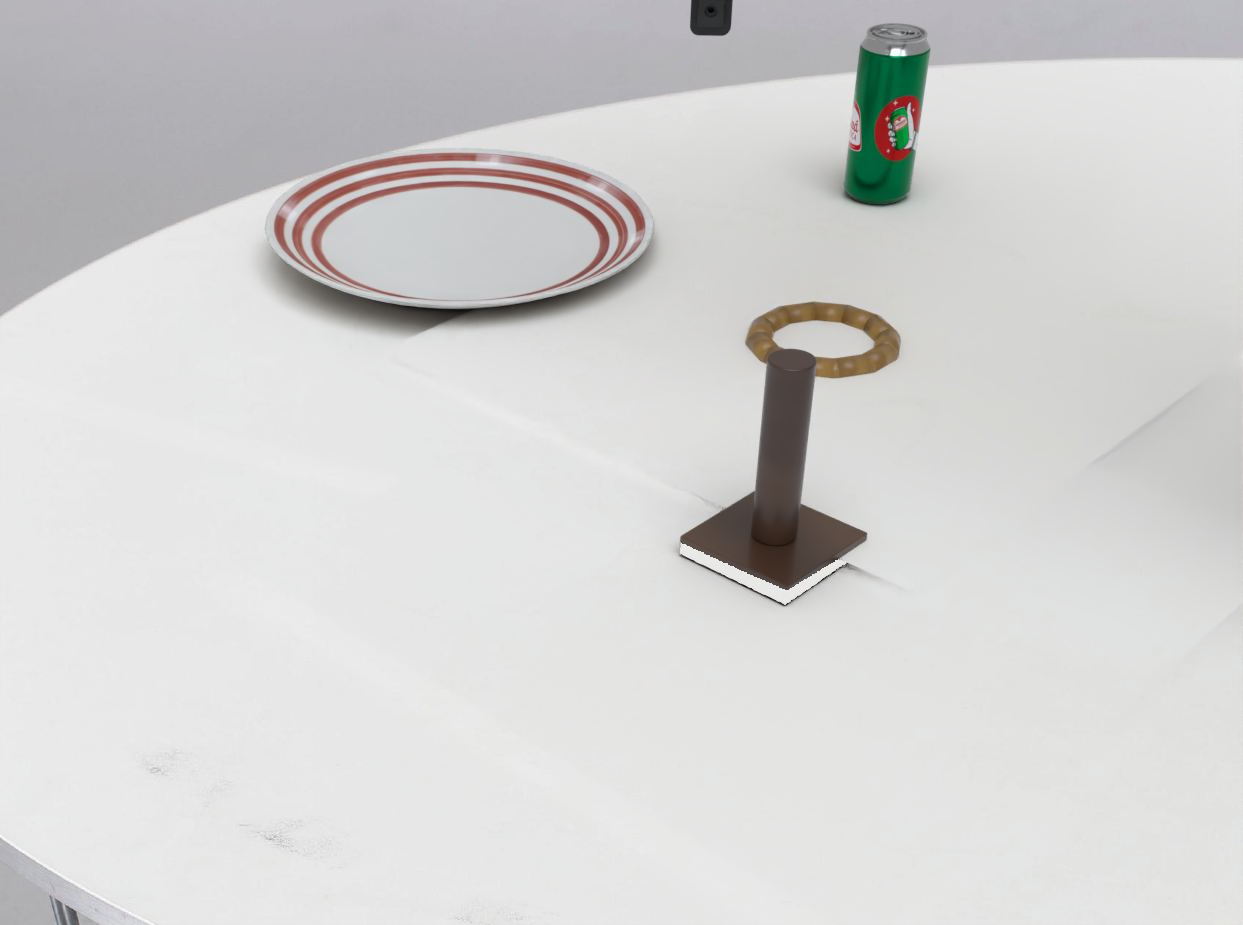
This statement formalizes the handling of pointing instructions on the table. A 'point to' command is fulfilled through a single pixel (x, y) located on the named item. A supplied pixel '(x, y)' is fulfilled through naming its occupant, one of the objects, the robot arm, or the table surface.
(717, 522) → the stand
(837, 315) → the ring
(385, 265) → the dinner plate
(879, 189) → the soda can
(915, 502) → the table surface
